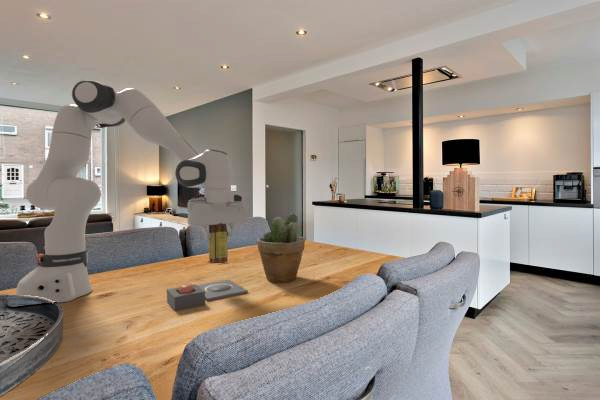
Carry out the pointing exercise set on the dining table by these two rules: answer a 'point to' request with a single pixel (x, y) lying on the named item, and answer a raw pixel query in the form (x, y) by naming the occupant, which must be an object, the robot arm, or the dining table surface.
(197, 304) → the button housing
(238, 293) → the grey square plate
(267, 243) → the potted plant
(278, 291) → the dining table surface
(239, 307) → the dining table surface
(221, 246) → the sauce bottle
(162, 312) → the dining table surface
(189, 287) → the button
